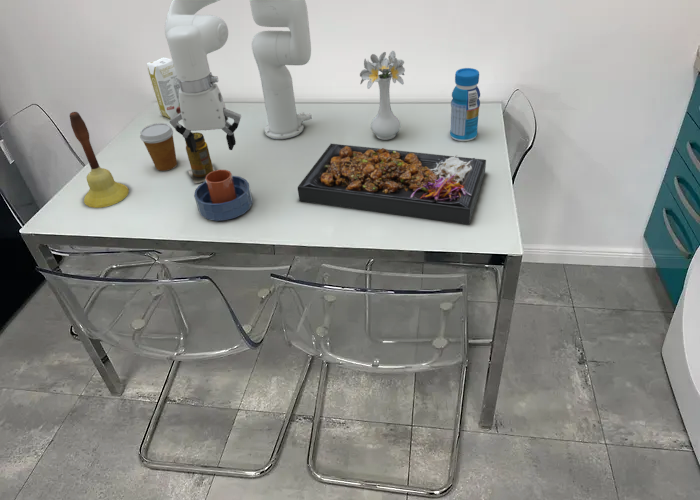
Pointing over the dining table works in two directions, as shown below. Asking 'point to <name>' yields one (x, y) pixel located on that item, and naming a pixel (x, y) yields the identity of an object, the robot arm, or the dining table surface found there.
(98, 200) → the handbell
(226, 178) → the cup
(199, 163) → the condiment
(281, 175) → the dining table surface
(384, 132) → the flower vase
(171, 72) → the juice carton
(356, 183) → the food platter
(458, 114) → the beverage bottle
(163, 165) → the disposable coffee cup
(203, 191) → the bowl
